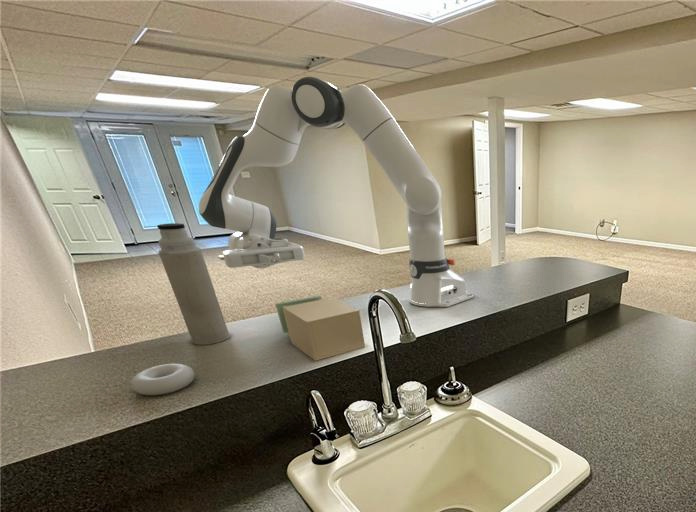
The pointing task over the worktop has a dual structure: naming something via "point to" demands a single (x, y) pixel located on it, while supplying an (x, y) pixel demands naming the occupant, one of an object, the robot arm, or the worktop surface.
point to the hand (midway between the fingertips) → (274, 260)
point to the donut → (162, 379)
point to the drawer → (289, 303)
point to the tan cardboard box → (324, 327)
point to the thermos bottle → (191, 285)
